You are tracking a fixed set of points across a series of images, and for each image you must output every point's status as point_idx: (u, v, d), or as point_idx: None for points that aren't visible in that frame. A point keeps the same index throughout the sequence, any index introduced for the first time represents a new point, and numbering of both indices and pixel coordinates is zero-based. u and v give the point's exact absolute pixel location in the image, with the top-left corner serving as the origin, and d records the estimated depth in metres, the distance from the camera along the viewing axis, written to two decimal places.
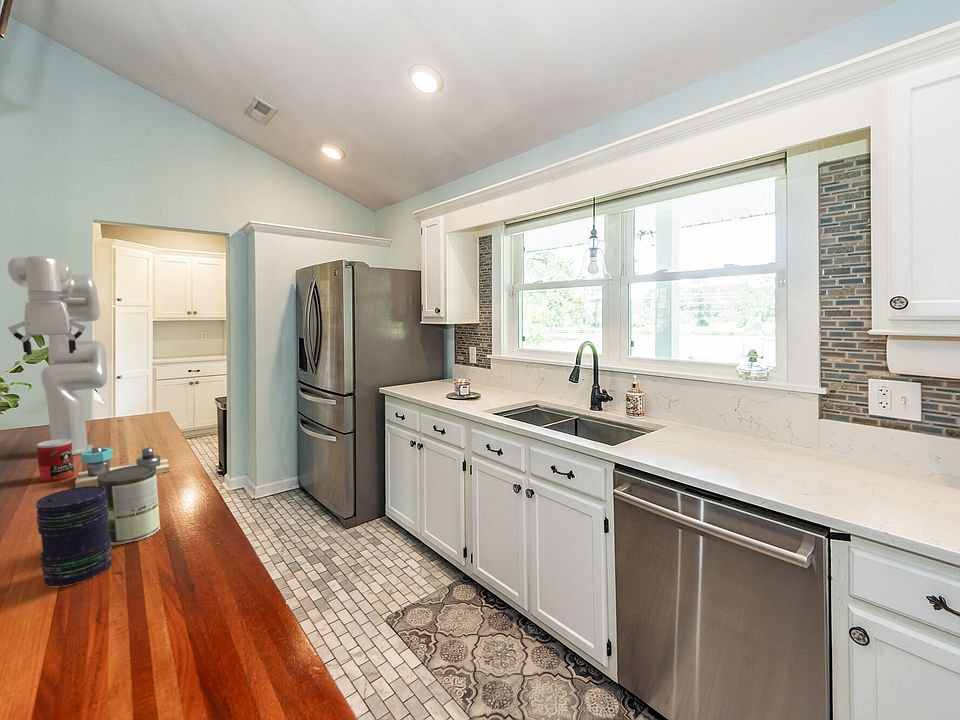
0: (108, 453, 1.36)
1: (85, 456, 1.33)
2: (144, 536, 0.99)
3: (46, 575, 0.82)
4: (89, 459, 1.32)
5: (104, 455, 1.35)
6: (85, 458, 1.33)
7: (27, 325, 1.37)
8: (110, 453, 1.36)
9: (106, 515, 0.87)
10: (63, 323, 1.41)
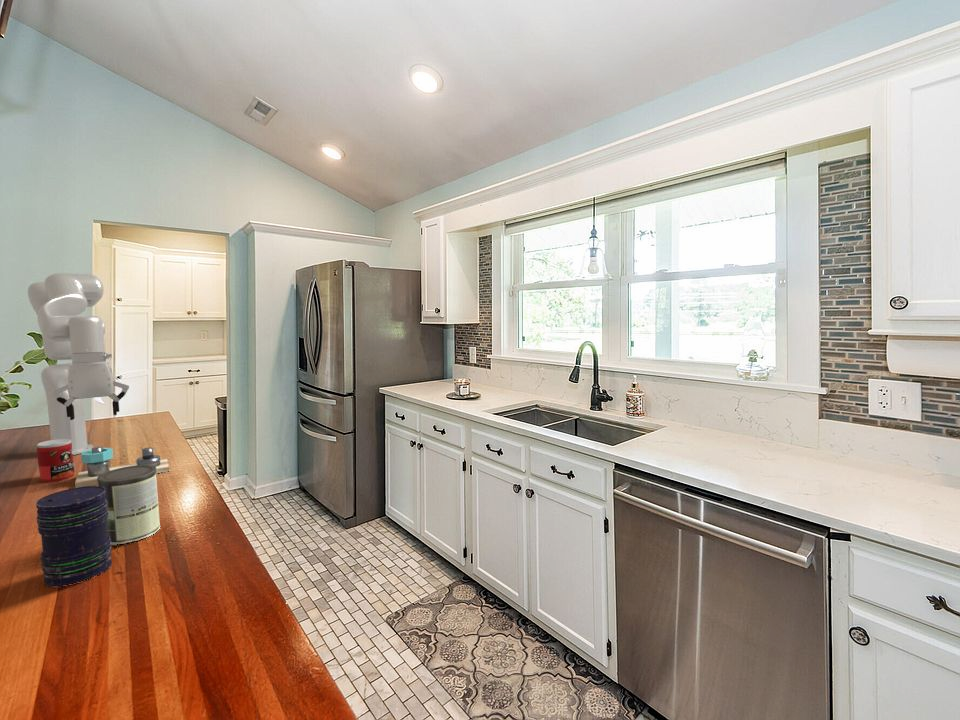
0: (108, 453, 1.36)
1: (85, 456, 1.33)
2: (144, 536, 0.99)
3: (46, 575, 0.82)
4: (89, 459, 1.32)
5: (104, 455, 1.35)
6: (85, 458, 1.33)
7: (71, 389, 1.30)
8: (110, 453, 1.36)
9: (106, 515, 0.87)
10: (107, 384, 1.34)
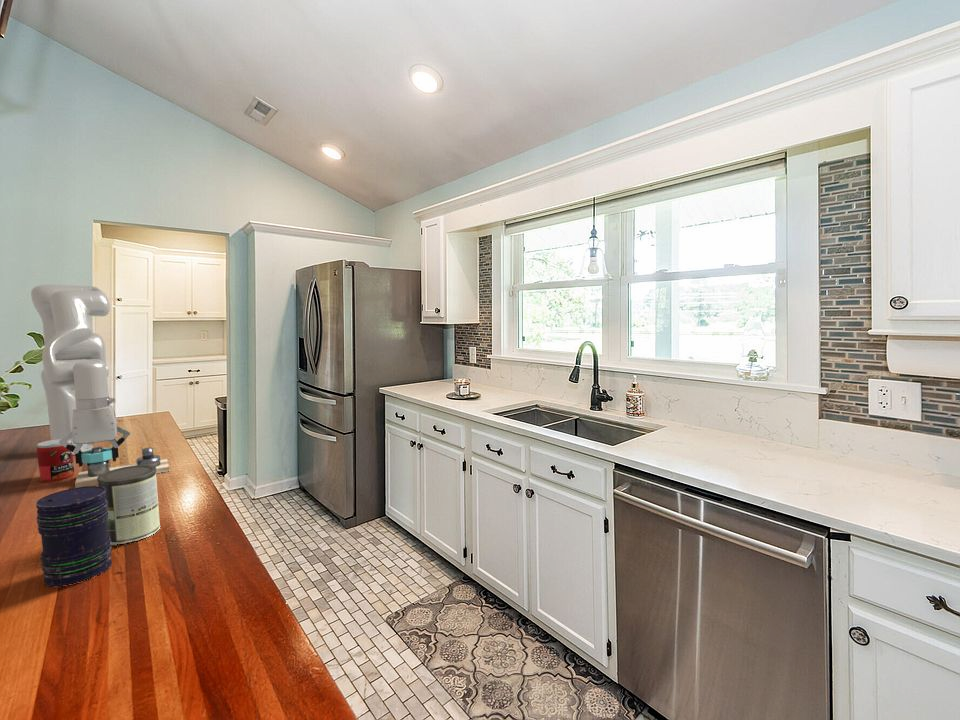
0: (108, 453, 1.36)
1: (85, 456, 1.33)
2: (144, 536, 0.99)
3: (46, 575, 0.82)
4: (89, 459, 1.32)
5: (104, 455, 1.35)
6: (85, 458, 1.33)
7: (75, 435, 1.31)
8: (110, 453, 1.36)
9: (106, 515, 0.87)
10: (111, 429, 1.36)
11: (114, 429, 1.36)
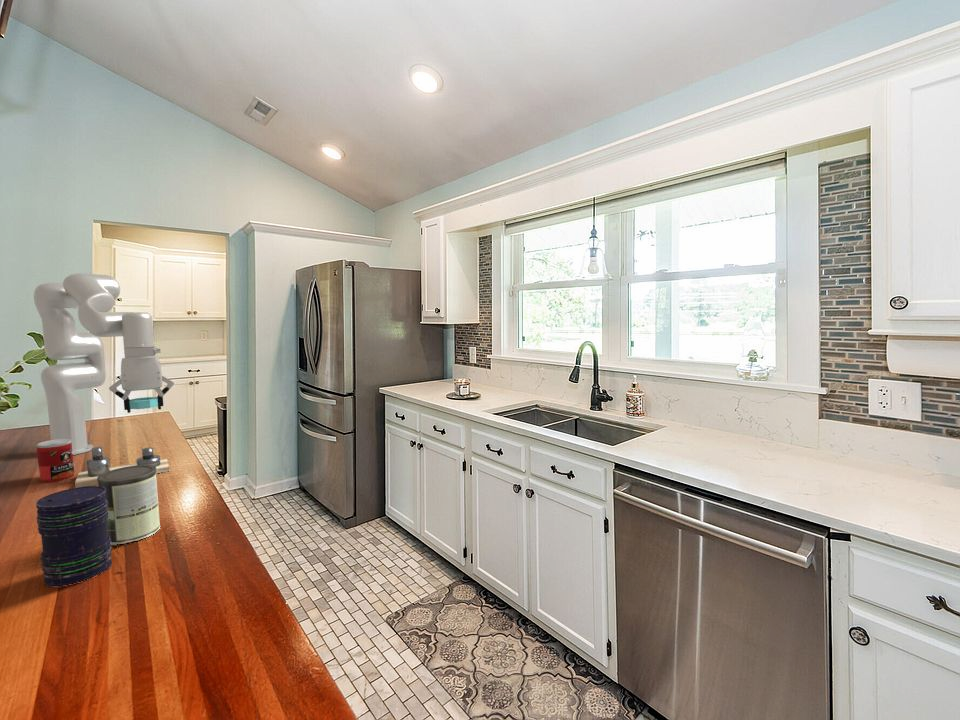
0: (154, 401, 1.41)
1: (133, 402, 1.38)
2: (144, 536, 0.99)
3: (46, 575, 0.82)
4: (137, 405, 1.38)
5: (151, 402, 1.40)
6: (133, 404, 1.38)
7: (124, 382, 1.37)
8: (156, 401, 1.42)
9: (106, 515, 0.87)
10: (157, 378, 1.42)
11: (160, 378, 1.42)
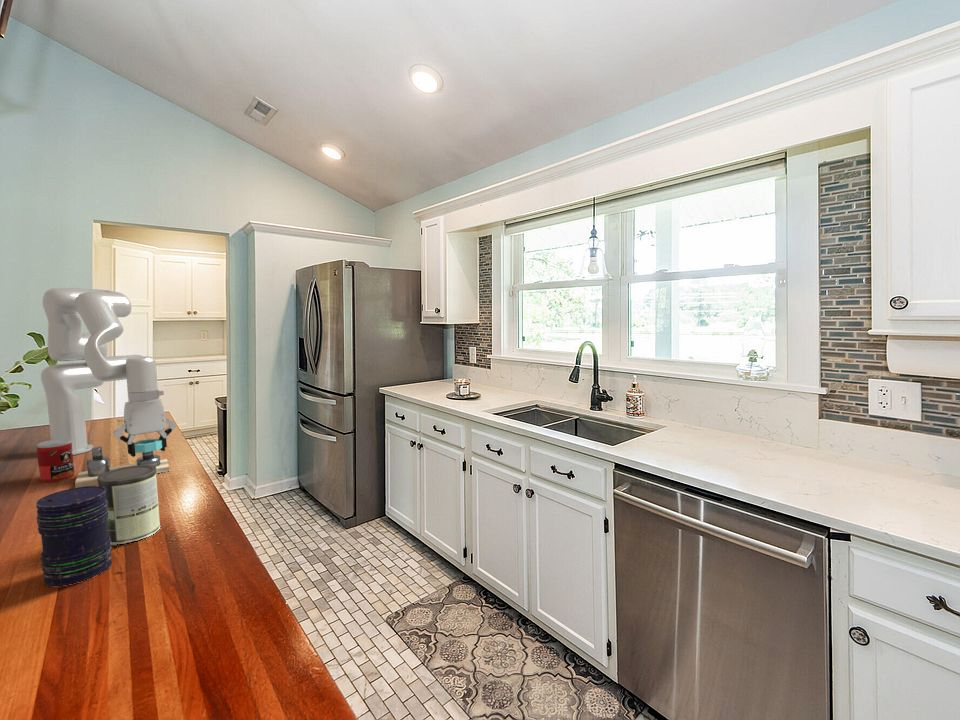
0: (159, 443, 1.43)
1: (139, 446, 1.40)
2: (144, 536, 0.99)
3: (46, 575, 0.82)
4: (143, 449, 1.40)
5: (156, 445, 1.42)
6: (139, 448, 1.40)
7: (130, 426, 1.38)
8: (160, 443, 1.44)
9: (106, 515, 0.87)
10: (161, 420, 1.44)
11: (164, 420, 1.44)
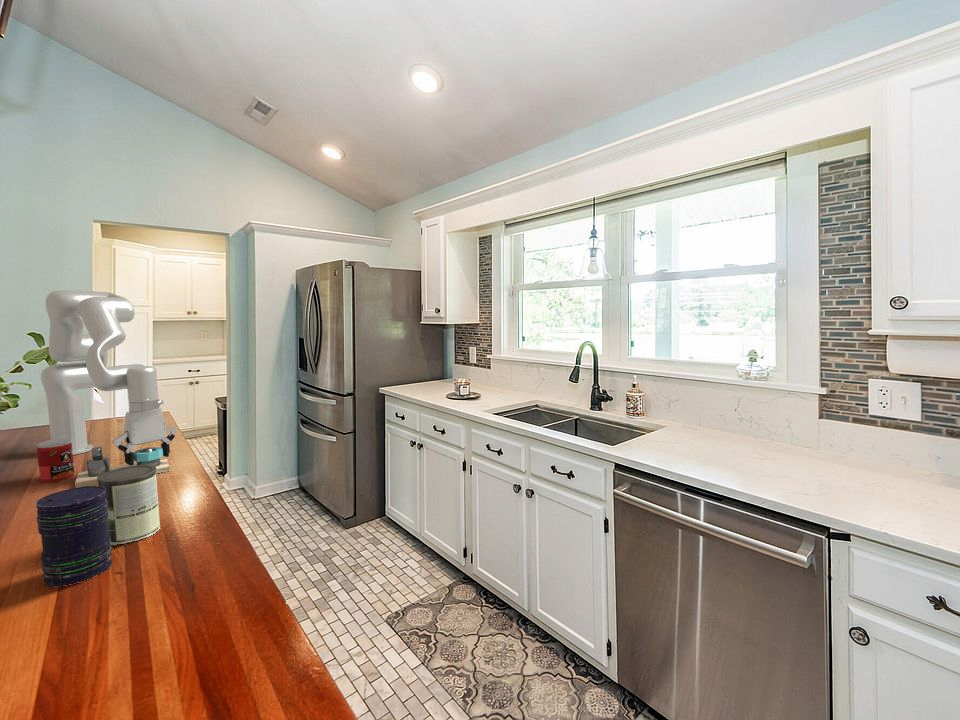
0: (161, 451, 1.44)
1: (142, 455, 1.40)
2: (144, 536, 0.99)
3: (46, 575, 0.82)
4: (147, 457, 1.40)
5: (159, 453, 1.43)
6: (142, 457, 1.40)
7: (133, 436, 1.38)
8: (161, 451, 1.45)
9: (106, 515, 0.87)
10: (162, 429, 1.45)
11: (165, 429, 1.45)
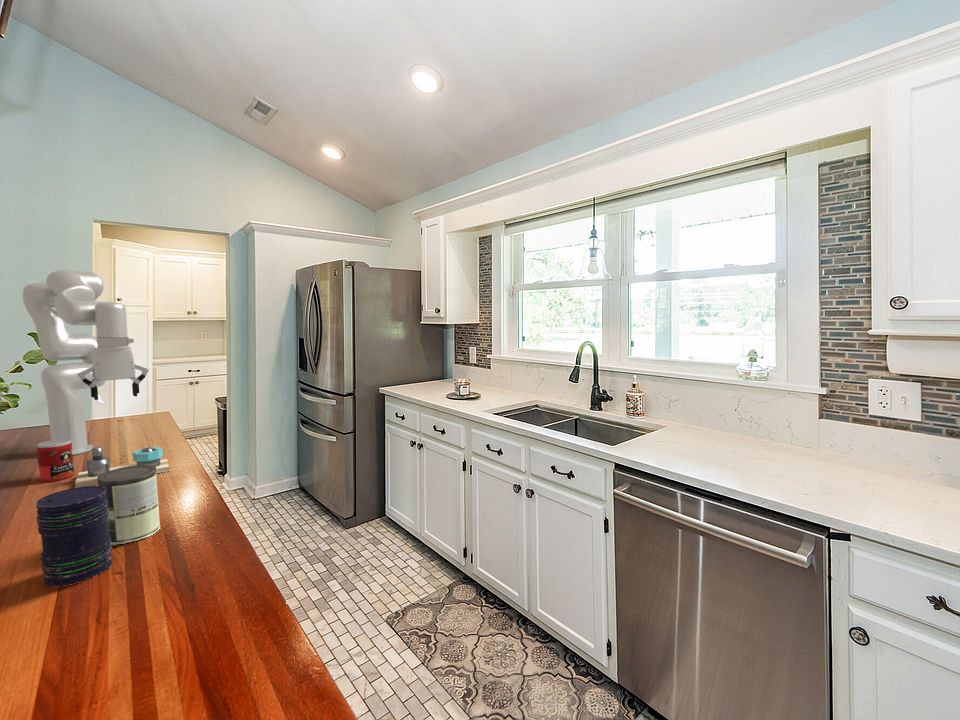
0: (161, 451, 1.44)
1: (142, 455, 1.40)
2: (144, 536, 0.99)
3: (46, 575, 0.82)
4: (147, 457, 1.40)
5: (159, 453, 1.43)
6: (142, 457, 1.40)
7: (97, 371, 1.38)
8: (161, 451, 1.45)
9: (106, 515, 0.87)
10: (130, 367, 1.43)
11: (133, 368, 1.44)
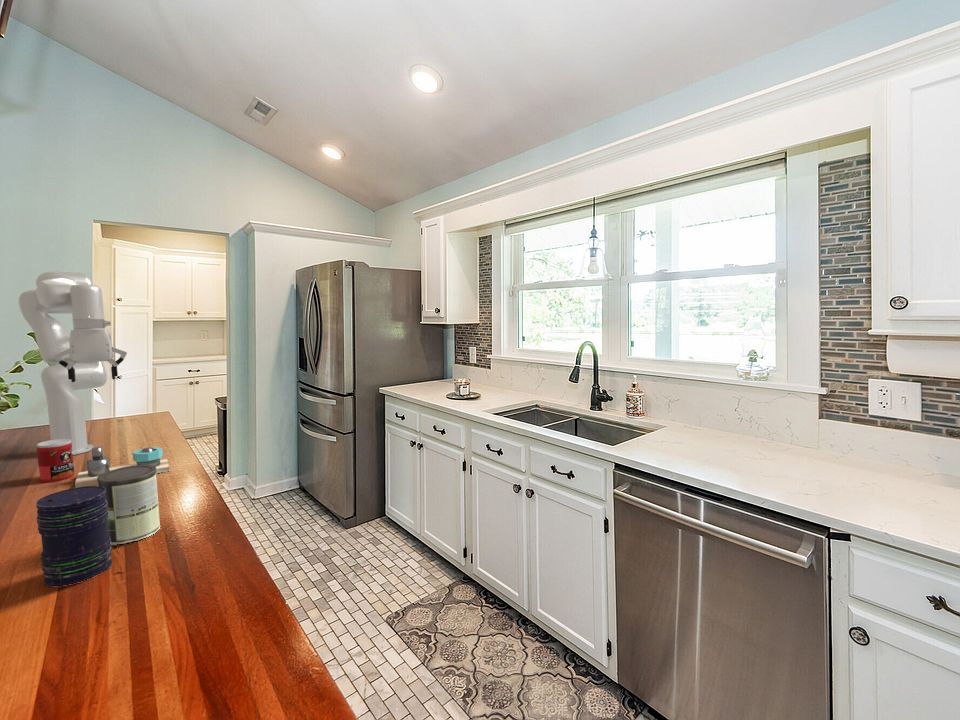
0: (161, 451, 1.44)
1: (142, 455, 1.40)
2: (144, 536, 0.99)
3: (46, 575, 0.82)
4: (147, 457, 1.40)
5: (159, 453, 1.43)
6: (142, 457, 1.40)
7: (72, 353, 1.39)
8: (161, 451, 1.45)
9: (106, 515, 0.87)
10: (106, 350, 1.43)
11: (109, 350, 1.44)
